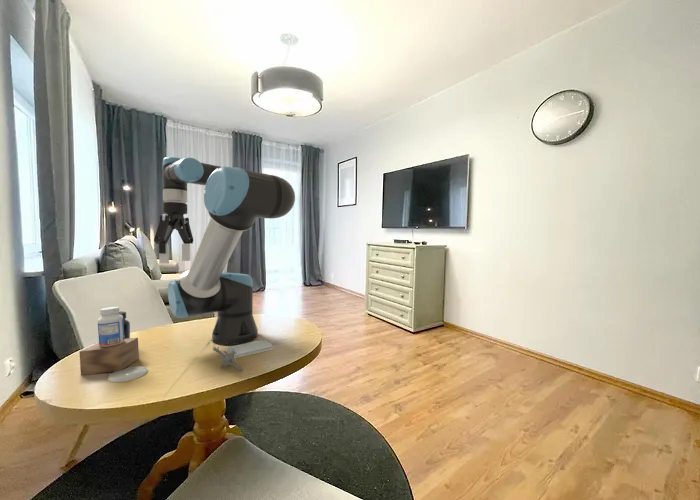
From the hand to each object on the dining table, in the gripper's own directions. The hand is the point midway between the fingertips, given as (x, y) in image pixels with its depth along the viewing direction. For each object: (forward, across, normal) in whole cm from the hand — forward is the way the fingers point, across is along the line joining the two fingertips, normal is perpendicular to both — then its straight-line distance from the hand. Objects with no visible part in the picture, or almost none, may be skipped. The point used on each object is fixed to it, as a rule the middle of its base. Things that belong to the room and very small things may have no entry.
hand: (175, 262), depth 106 cm
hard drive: (+28, +13, +31) cm, 43 cm away
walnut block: (+26, +27, -2) cm, 38 cm away
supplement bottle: (+27, +15, -10) cm, 32 cm away
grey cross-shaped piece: (+27, +28, +29) cm, 48 cm away
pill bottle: (+20, +27, -2) cm, 34 cm away
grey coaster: (+27, +32, +6) cm, 42 cm away
